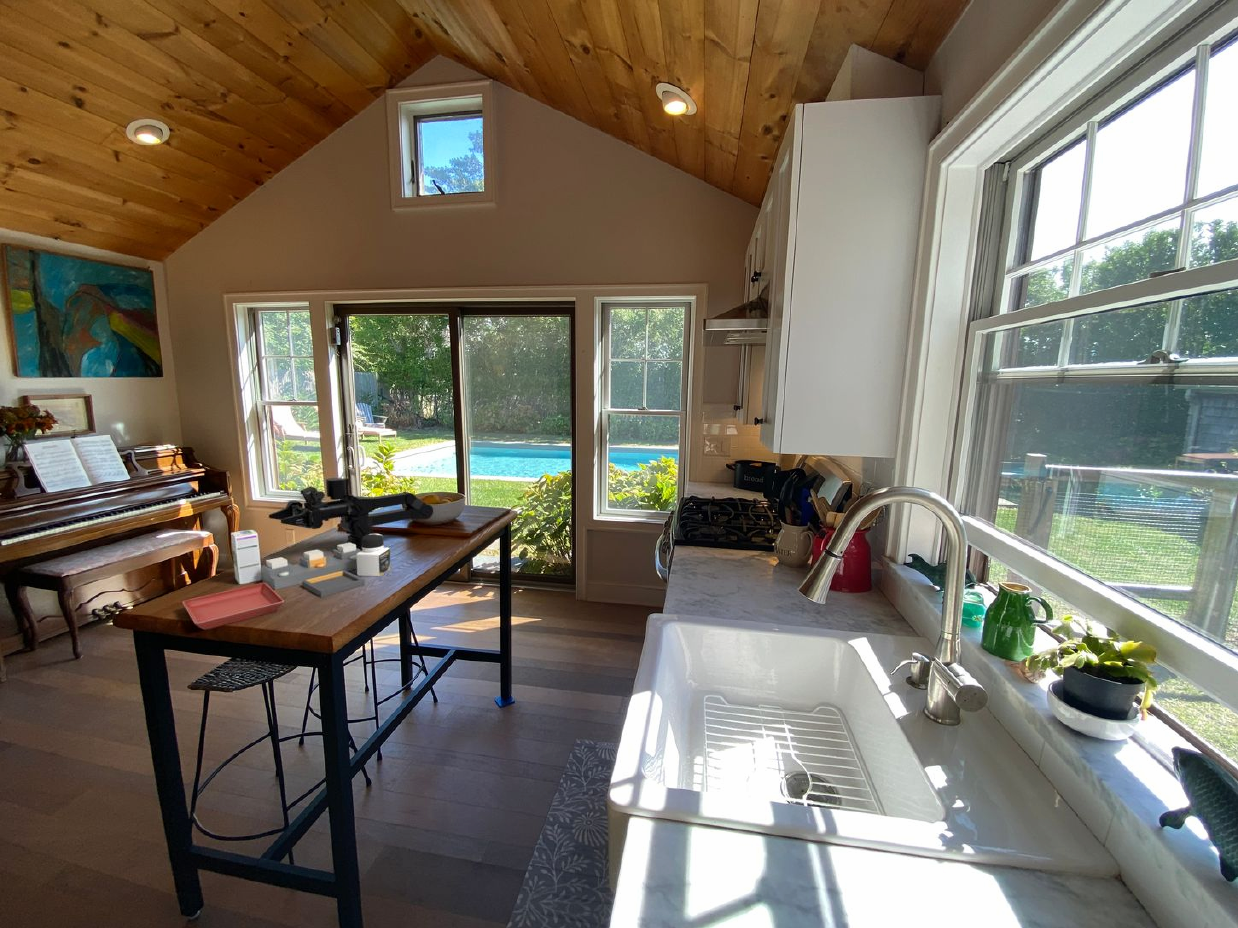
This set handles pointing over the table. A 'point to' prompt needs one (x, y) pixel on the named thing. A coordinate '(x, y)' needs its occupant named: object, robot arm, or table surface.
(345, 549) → the breaker
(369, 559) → the medicine bottle
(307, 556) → the block
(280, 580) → the grey slotted tray
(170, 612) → the table surface
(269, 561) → the breaker
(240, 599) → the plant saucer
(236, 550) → the syrup box
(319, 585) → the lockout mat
